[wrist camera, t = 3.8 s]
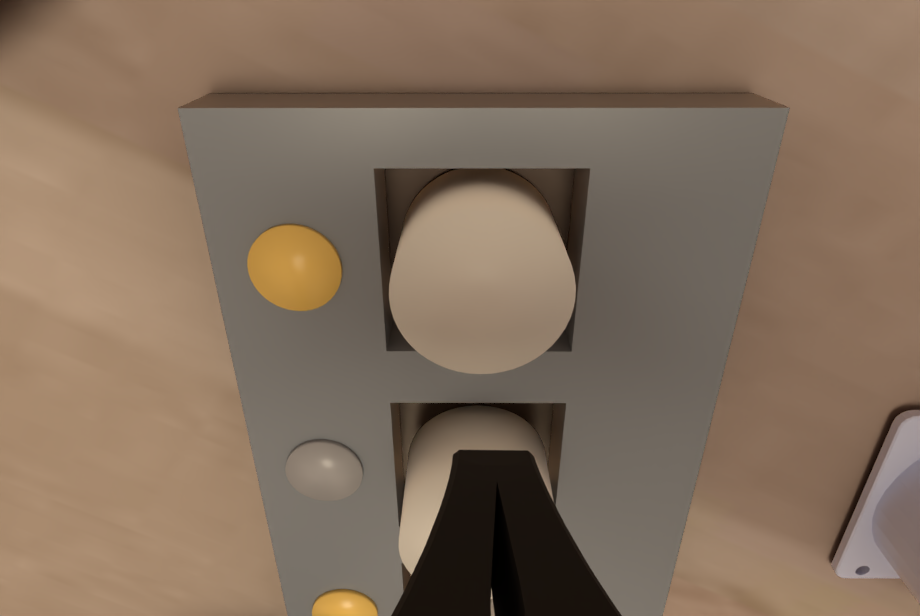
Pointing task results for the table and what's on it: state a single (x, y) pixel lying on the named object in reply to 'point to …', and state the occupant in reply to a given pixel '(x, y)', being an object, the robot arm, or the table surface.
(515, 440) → the button
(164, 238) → the table surface
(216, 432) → the table surface
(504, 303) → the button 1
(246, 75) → the table surface
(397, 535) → the button board
